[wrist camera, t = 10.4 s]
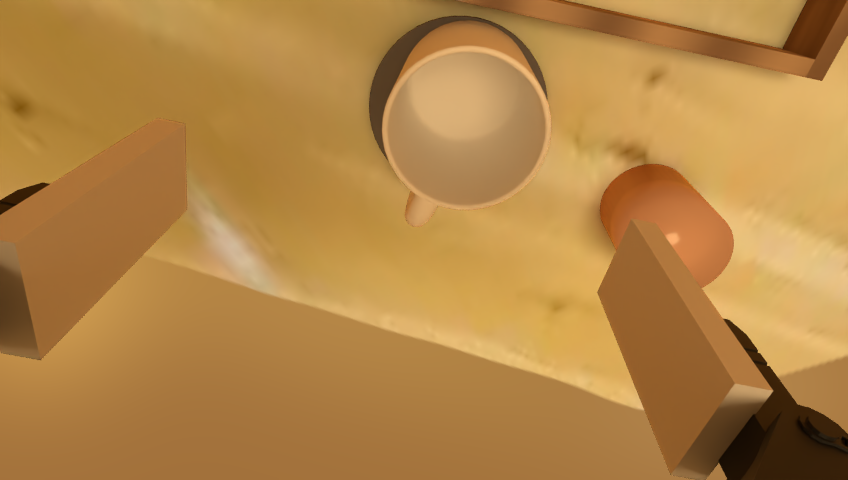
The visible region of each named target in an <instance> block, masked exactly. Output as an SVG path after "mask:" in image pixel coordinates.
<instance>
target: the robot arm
mask: <svg viewBox="0 0 848 480" xmlns="http://www.w3.org/2000/svg"><path fill="white" fill-rule="evenodd" d="M186 210H187V179H186V138H185V124H184V123H180V122H175V121H170V120H165V119H161V118H157V119H155V120H153V121H152V122H150V123H148V124H147V125H145V126H144V127H142V128H140V129H139V130H137V131H135V132H134V133H132V134H131V135H129V136H127V137H126V138H124V139H123V140H121V141H119V142H118V143H116V144H114V145H113V146H111V147H110V148H108V149H106V150H105V151H103V152H101V153H100V154H98V155H97V156H95V157H93V158H92V159H90V160H89V161H87V162H85V163H84V164H82V165H80V166H79V167H77V168H76V169H74V170H72V171H71V172H69V173H67V174H66V175H64V176H63V177H61V178H59V179H58V180H56V181H55V182H53V183H51V184H47V183H40V184H36V185H33V186H30V187H26V188H23V189H20V190H17V191H15V192H14V193H12V194H10V195H8V196H7V197H5V198H3V199H2V200H0V351H1V353H4V354H9V355H15V356H20V357H26V358H31V359H37V360H41V359H42V358H43V357H44V356H45V355H46V354H47V353H48V352H49V351H50V350H51V349H52V348H53V347H54V346H55V345H56V344H57V343H58V342H59V341H60V340H61V339H62V338H63V337H64V336H65V335H66V333H68V331H69V330H70V329H71V328H72V327H73V326H74V325H75V324H76V323H77V322H78V321H79V320H80V319H81V318H82V317H83V316H84V315H85V314H86V313H87V312H88V311H89V310H90V309H91V308H92V307H93V306H94V304H96V303H97V302H98V301H99V300H100V299H101V298H102V296H103V295H104V294H105V293H106V292H107V291H108V290H109V289H110V288H111V287H112V286H113V285H114V284H115V283H116V282H117V281H118V280H119V279H120V278H121V277H122V276H123V275H124V274H125V273H126V272H127V271H128V269H130V268H131V267H132V266H133V265H134V264H135V262H137V260H138V259H139V258H140V257H141V256H142V255H143V254H144V253H145V252H146V251H147V250H148V249H149V248H150V247H151V246H152V245H153V244H154V243H155V242H156V241H157V240H158V239H159V238H160V237H161V236H162V235H163V234H164V233H165V232H166V231H167V230H168V229H169V228H170V227H171V225H172V224H173V223H174V222H175V221H176V220H177V219H178V218H179V217H180V216H181V215H182V214H183V213H184V212H185V211H186ZM597 293H598V295H599V298H600V300H601V303H602V305H603V308H604V310H605V313H606V315H607V318H608V320H609V323H610V325H611V328H612V330H613V333H614V335H615V338H616V340H617V343H618V345H619V348H620V350H621V353H622V355H623V358H624V360H625V363H626V365H627V368H628V370H629V373H630V375H631V378H632V380H633V383H634V385H635V388H636V390H637V393H638V395H639V398H640V400H641V403H642V405H643V408H644V410H645V413H646V415H647V417H648V420H649V422H650V425H651V427H652V430H653V432H654V435H655V437H656V440H657V442H658V445H659V447H660V450H661V452H662V455H663V457H664V460H665V462H666V465H667V467H668V470H669V472H670V475H673V476H679V477H684V478H690V479H695V480H706V479H707V477H708V476H709V475H710V473H711V472H712V471H713V470H714V468H715V467H716V466H717V464H718V463H720V465H721V467H722V469H723V471H724V473H725V475H726V477H727V480H848V434H847V433H846V432H845V431H844V430H843V429H842V428H841V427H840V426H839V425H838V424H836V423H835V422H833V421H832V420H831V419H829V418H828V417H826V416H825V415H823V414H821V413H819V412H817V411H815V410H813V409H811V408H808V407H804V406H800V405H798V404H797V403H796V402H795V400H794V399H793V398H792V396H791V395H790V393H789V392H788V391H787V389H786V388H785V387H784V385H783V384H782V383H781V382H780V380H779V378H778V377H777V376H776V374H775V373H774V372H773V370H772V369H771V367H770V366H767V362H766V361H765V359H764V358H763V357H762V355H761V354H760V353H758V350H757V348H756V347H755V346H754V344H753V343H752V342H751V340H750V339H749V337H748V336H747V335H746V334H745V333H744V332H743V331H741V330H740V329H739V328H738V327H737V326H736V325H734V324H733V323H732V322H731V321H730V320H727V319H723V318H722V317H721V315H720V314H719V313H718V311H717V310H716V308H715V307H714V305H713V304H712V303H711V301H710V300H709V298H708V297H707V295H706V294H705V293H704V291H703V290H702V288H701V287H700V285H699V284H698V283H697V281H696V280H695V278H694V277H693V275H692V274H691V273H690V271H689V270H688V268H687V267H686V265H685V264H684V263H683V261H682V260H681V258H680V257H679V255H678V254H677V253H676V251H675V250H674V248H673V247H672V245H671V244H670V243H669V241H668V240H667V238H666V237H665V235H664V234H663V233H662V231H661V230H660V228H659V227H658V225H657V224H656V223H651V222H646V221H642V220H637V219H632V218H631V221H630V223H629V225H628V227H627V229H626V231H625V233H624V236H623V238H622V240H621V242H620V244H619V246H618V249H617V251H616V253H615V255H614V257H613V259H612V262H611V264H610V266H609V268H608V270H607V272H606V275H605V277H604V279H603V281H602V283H601V285H600V288H599V290H598V292H597Z"/></svg>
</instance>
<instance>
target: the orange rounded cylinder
mask: <svg viewBox="0 0 848 480" xmlns="http://www.w3.org/2000/svg"><path fill="white" fill-rule="evenodd" d="M600 216H601V220H602V223H603V225H604V227H605V229H606V231H607V233H608V235H609V237H610V239H611V241H612V243H613V245H614V247H615V249H616V251H617V249H618V246H619V244H620V242H621V240H622V238H623V236H624V233H625V231H626V229H627V227H628V225H629V223H630V221H631V218H632V219H637V220H642V221H646V222H651V223H656V224H657V225H658V227H659V228H660V230H661V231H662V233H663V234H664V235H665V237H666V238H667V240H668V241H669V243H670V244H671V245H672V247H673V248H674V250H675V251H676V253H677V254H678V255H679V257H680V258H681V260H682V261H683V263H684V264H685V265H686V267H687V268H688V270H689V271H690V273H691V274H692V275H693V277H694V278H695V280H696V281H697V283H698V284H699V285H700V287H701V288H703V287H704V286H706V285H708V284H709V283H711V282H712V281H713V280H714V279H716V278H717V277H718V276H719V275H720V274H721V273H722V271H723V270H724V269H725V267H726V266H727V264H728V263H729V261H730V259H731V256H732V253H733V247H734V240H733V234H732V231H731V229H730V227H729V225H728V224H727V223H726V221H725V220H724V219H723V218H722V217H721V216H720V215H719V214H718V213H717V212H716V211H715V210H714V209H713V208H712V207H711V205H710V204H709V203H708V202H707V201H706V200H705V199H704V198H703V197H702V196H701V195H700V194H699V193H698V192H697V191H696V190H695V189H694V187H693V186H692V185H691V184H690V183H689V182H688V181H687V180H686V179H685V178H684V177H683V176H682V175H681V174H680V173H679V172H678V171H676V170H674V169H673V168H670V167H668V166H664V165H659V164H647V165H641V166H637V167H634V168H631V169H629V170H627V171H625V172H624V173H622V174H621V175H619V176H618V177H617V178H616V179H615V180H613V181H612V182H611V184H610V185H609V186H608V188H607V189H606V191H605V192H604V195H603V197H602V200H601V204H600Z"/></svg>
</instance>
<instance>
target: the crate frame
mask: <svg viewBox="0 0 848 480" xmlns="http://www.w3.org/2000/svg"><path fill="white" fill-rule="evenodd" d="M457 1H462V2H466V3H471V4H475V5H480V6H485V7H489V8H494V9H498V10H503V11H507V12H512V13H516V14H521V15H525V16H530V17H534V18H539V19H543V20H548V21H553V22H557V23H562V24H566V25H571V26H575V27H580V28H584V29H589V30H593V31H598V32H602V33H607V34H612V35H616V36H621V37H625V38H630V39H634V40H639V41H643V42H648V43H652V44H657V45H661V46H666V47H671V48H675V49H680V50H684V51H689V52H693V53H698V54H702V55H707V56H711V57H716V58H720V59H725V60H729V61H734V62H739V63H743V64H748V65H752V66H757V67H761V68H766V69H770V70H775V71H779V72H784V73H788V74H793V75H798V76H802V77H807V78H811V79H816V80H820V81H822V80H823V78H824V76H825V75H826V73H827V71H828V69H829V68H830V66H831V64H832V62H833V60H834V59H835V57H836V55H837V53H838V52H839V50H840V48H841V46H842V44H843V43H844V41H845V39H846V37H847V36H848V0H807V2H806V4H805V6H804V8H803V10H802V12H801V14H800V16H799V18H798V20H797V22H796V24H795V26H794V28H793V30H792V32H791V34H790V36H789V37H788V39H787V41H786V43H785V45H784V47H783V49H781V48H776V47H772V46H767V45H763V44H758V43H754V42H749V41H745V40H740V39H736V38H731V37H727V36H722V35H718V34H713V33H709V32H704V31H700V30H695V29H691V28H686V27H682V26H677V25H673V24H668V23H664V22H659V21H655V20H650V19H646V18H641V17H637V16H632V15H628V14H623V13H619V12H614V11H610V10H605V9H601V8H596V7H592V6H587V5H583V4H578V3H574V2H569V1H565V0H457Z"/></svg>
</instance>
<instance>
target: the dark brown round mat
mask: <svg viewBox="0 0 848 480" xmlns="http://www.w3.org/2000/svg"><path fill="white" fill-rule="evenodd" d="M466 20H471V21H479V22H483V23H487V24H489V25H492V26H494V27H496V28H498V29H499V30H501V31H503V32H504V33H505V34H506V35H508V36H509V37H510V38H511V39H512V40H513V41H514V42H515V43H516V44H517V46H518V47H519V48H520V50H521V51H522V53H523V55H524V56H525V58H526V60H527V62H528V64H529V66H530V67H531V69H532V71H533V73H534V75H535V77H536V78H537V80H538V82H539V84H540V86H541V88H542V90H543V92H544V94H545V96H546V99H547V91H546V85H545V81H544V78H543V75H542V72H541V70H540V68H539V66H538V63H537V62H536V60H535V58H534V57H533V55H532V54H531V52H530V51H529V49H528V48H527V47H526V46H525V45H524V44H523V42H522V41H521V40H520V39H518V38H517V37H516V36H515V35H514V34H513V33H511V32H510V31H508V30H507V29H505V28H503V27H502V26H500V25H498V24H495V23H493V22H491V21H488V20H485V19H481V18H477V17H470V16H449V17H442V18H438V19H435V20H431V21H428V22H426V23H424V24H421V25H419V26H417V27H416V28H414V29H412V30H411V31H409V32H408V33H406V34H405V35H404V36H403V37H402V38H400V39H399V40H398V41H397V42H396V43H395V44H394V45H393V46H392V48H391V49H390V50H389V51H388V53H387V54H386V56H385V57H384V58H383V60H382V62H381V64H380V65H379V67H378V69H377V71H376V74H375V77H374V80H373V83H372V87H371V92H370V101H369V112H370V121H371V126H372V130H373V133H374V136H375V139H376V141H377V143H378V145H379V148H380V149H381V151H382V153H383V154H384V156H385V157H386V159H387V160H388V158H387V155H386V152H385V149H384V144H383V138H382V121H383V114H384V109H385V106H386V103H387V100H388V97H389V95H390V93H391V91H392V89H393V87H394V85H395V83H396V81H397V79H398V77H399V75H400V73H401V71H402V69H403V66H404V64H405V62H406V60H407V58H408V56H409V55H410V53H411V52H412V50H413V49H414V47H415V46H416V45H417V44H418V43H419V41H420V40H421V39H422V38H424V37H425V36H426V35H427V34H428V33H430V32H431V31H433V30H434V29H436V28H438V27H440V26H442V25H445V24H448V23H451V22H456V21H466Z"/></svg>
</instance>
